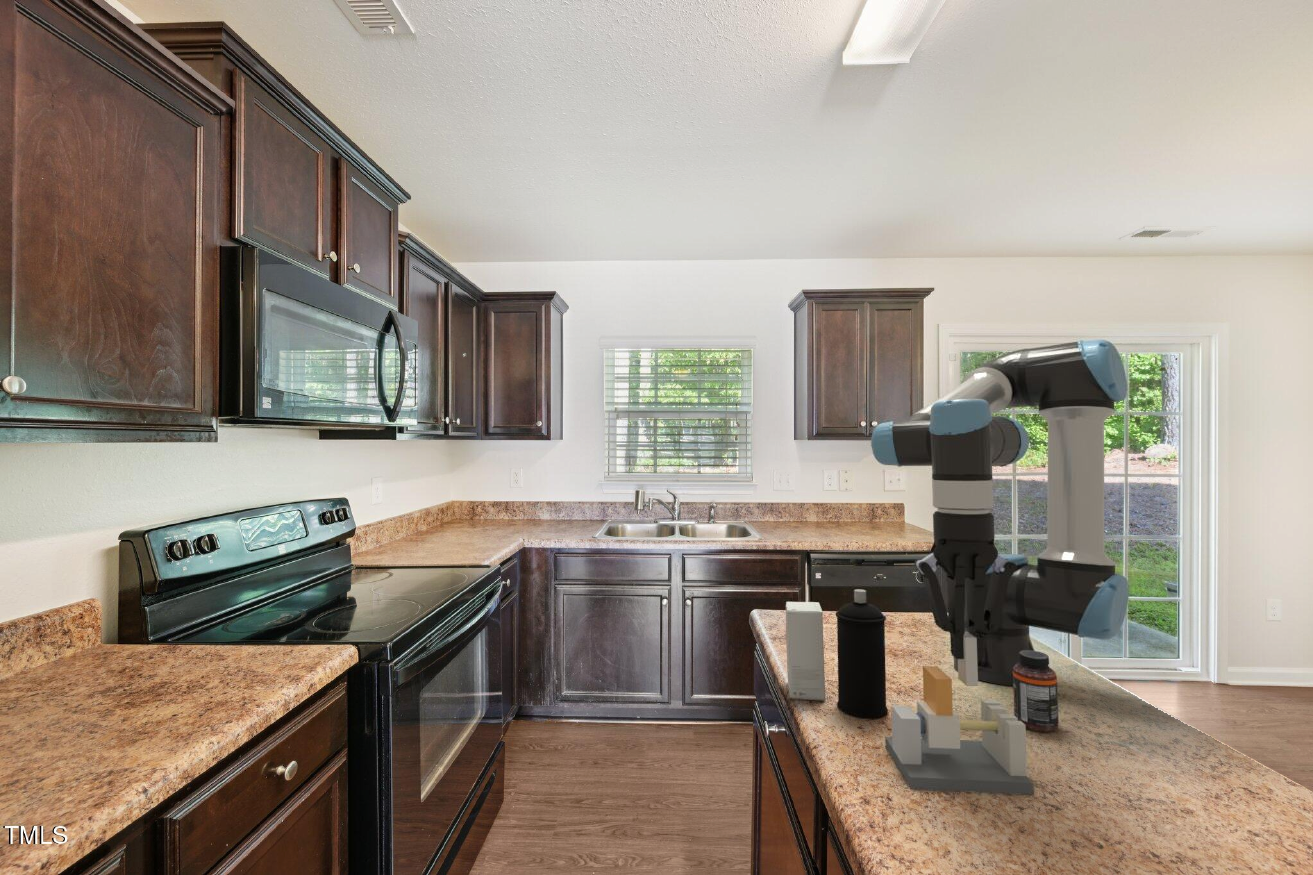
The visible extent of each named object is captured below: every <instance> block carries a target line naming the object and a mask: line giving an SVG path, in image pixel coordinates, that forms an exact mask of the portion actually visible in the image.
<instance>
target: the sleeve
mask: <svg viewBox="0 0 1313 875" xmlns="http://www.w3.org/2000/svg"><path fill="white" fill-rule="evenodd" d="M922 686H923V687H922V688H923V689H922V690H923V691H922V692H923V700H917V701H916V708H917V710H916V713H921V715H922V717H923V719H925V724H926V728H924V733H923V734H921V738H922V739H923V740H924V741H925V743H926V744H927V745H928V747H929V748H952V749H960V740H961V730H960V720H961V719H960V715H959V713H958V712H957V711H956V710H955V709H954V708H953V680H952V678H951V677H950V676H949V675H948V674H947V673H946V672H944V671H943V670H942V668H940V667H939V666H938V665H937V666H935V665H934V666H933V665H931V666H930V665H923V666H922Z"/></svg>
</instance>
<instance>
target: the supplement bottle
mask: <svg viewBox="0 0 1313 875" xmlns="http://www.w3.org/2000/svg"><path fill="white" fill-rule="evenodd" d="M1019 660H1020V661H1019V662H1018V663H1017V664H1016V665H1014V667H1013V685H1012V686H1013V707H1014V708H1013V712H1014V713H1013V715H1014V716H1015V717H1017V719H1018V721H1021V722H1022V723H1024V724H1025V725H1026V730H1029V731H1034V732H1039V733H1045V734H1047V733H1053V732H1055V731H1057V730H1058V729H1059V698H1058V677H1057V673H1056V671H1055V670H1054V669H1052V668H1051V667H1050V666H1049V665H1050V658H1049V655H1048V654H1046V653H1045V652H1041V651H1036V650H1035V651H1032V650H1023V651H1020V652H1019Z"/></svg>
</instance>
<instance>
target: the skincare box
mask: <svg viewBox="0 0 1313 875" xmlns="http://www.w3.org/2000/svg"><path fill="white" fill-rule="evenodd" d="M823 619H824V618H823V609H822V607H821V605H820V602H816V601H815V602H814V601H786V602H785V640H786V641H785V642H786V643H785V644H786V665H787V670H786V671H787V683H788V684H787V686H788V694H789V695H788V696H789V698H790V699H794V700H804V701H805V700H808V701H809V700H811V701H825V700H826V680H825V653H824V652H825V651H824V649H825V648H824V647H825V646H824V623H823V622H824V620H823Z"/></svg>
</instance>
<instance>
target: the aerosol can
mask: <svg viewBox="0 0 1313 875" xmlns="http://www.w3.org/2000/svg"><path fill="white" fill-rule="evenodd" d="M853 599H854V600H853V601H851V602H849V603H846V604H844V605H842V606H841V607H840V608H839V609H838V610H837V611H836V612H835V617H836V625H837V626H836V628H837V629H836V630H837V631H836V632H837V633H836V634H837V642H836V643H837V692H838V693H837V694H838V697H837V698H838V701H837V703H836V706H837V708H838V710H839V711H840V712H842V713H844V714H846V715H848V716H851V717H854V718H859V719H867V720H872V719H873V720H875V719H881V718H884V717H885V716H886V715H887V714H889V713H888V712H889V710H888V707H887V681H886V680H887V679H886V676H887V675H886V671H887V670H886V634H885V633H886V630H885V628H886V627H885V623H886V622H885V621H886V620H887V617H886V615H885V614H884V613H883V612H882V610H880V609H879V608H878V607H876V606H875V605H873V604H869V603H868V602H867V590H865V589H860V588H858V589H857V588H856V589H854V590H853Z"/></svg>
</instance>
